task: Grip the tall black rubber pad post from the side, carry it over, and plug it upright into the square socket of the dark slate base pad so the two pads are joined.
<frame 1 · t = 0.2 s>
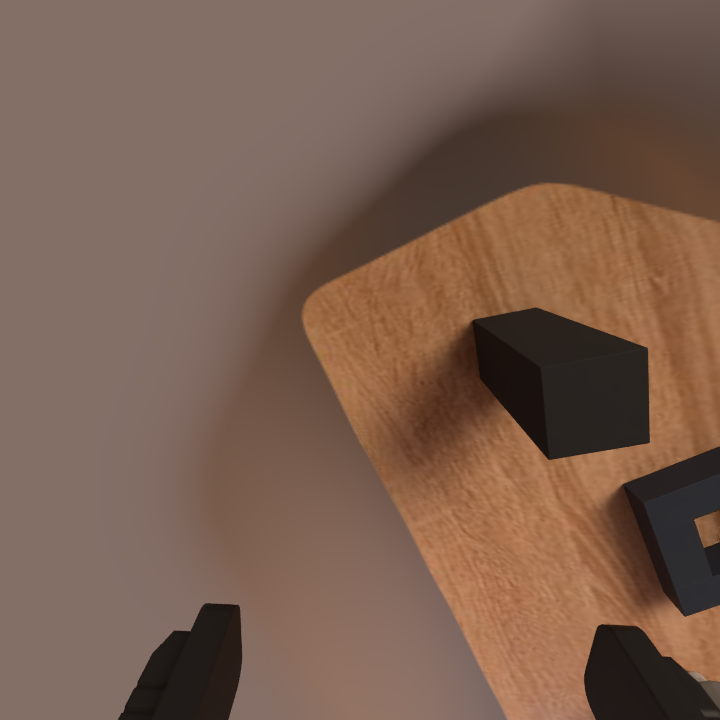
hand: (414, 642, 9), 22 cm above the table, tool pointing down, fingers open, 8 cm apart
pad post: (507, 344, 30), on the table
light bulb: (681, 670, 38), on the table
base pad: (715, 513, 33), on the table
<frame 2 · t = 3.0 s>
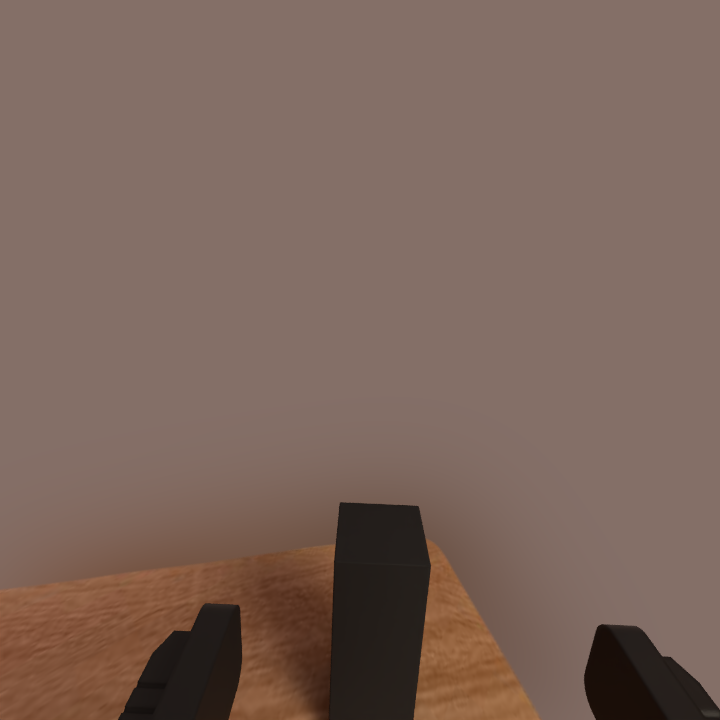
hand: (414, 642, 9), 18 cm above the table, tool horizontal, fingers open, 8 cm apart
pad post: (369, 695, 25), on the table
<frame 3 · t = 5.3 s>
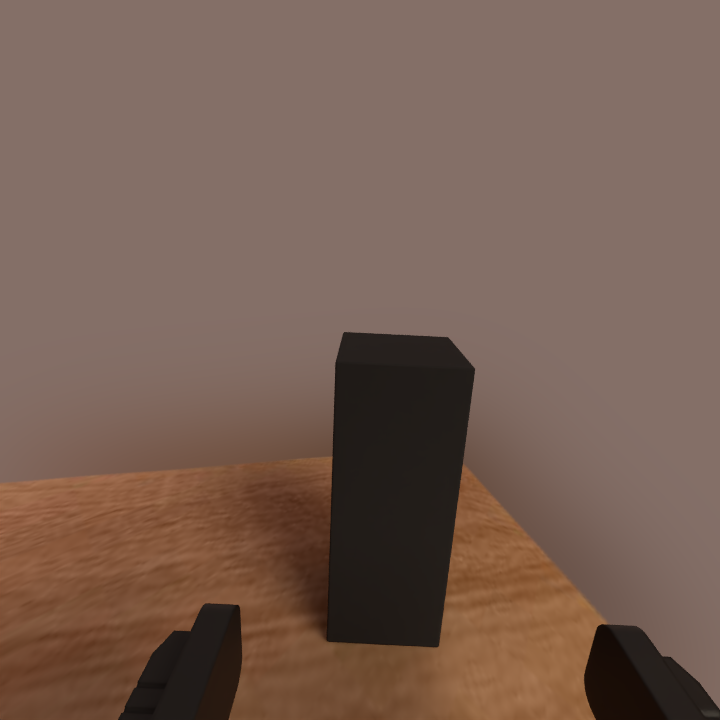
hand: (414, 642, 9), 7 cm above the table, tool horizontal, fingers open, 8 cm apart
pad post: (380, 598, 19), on the table
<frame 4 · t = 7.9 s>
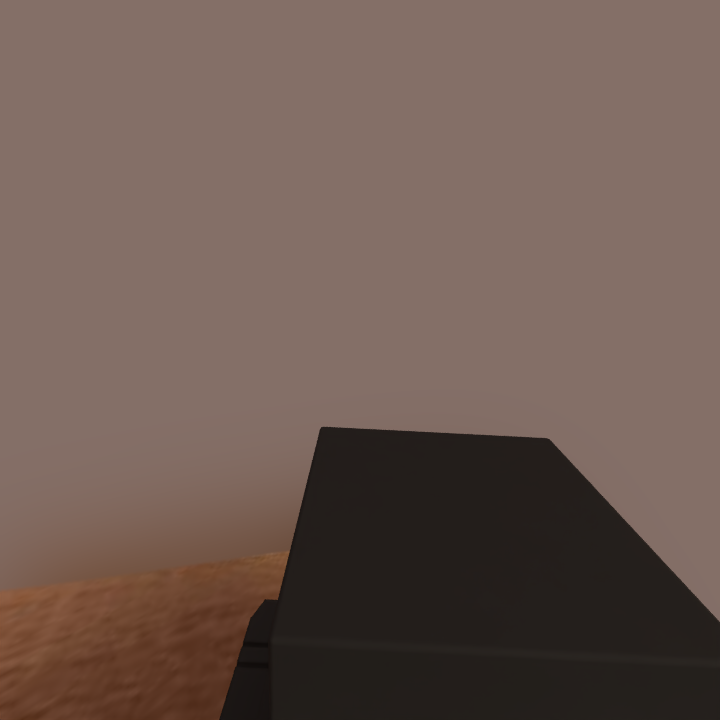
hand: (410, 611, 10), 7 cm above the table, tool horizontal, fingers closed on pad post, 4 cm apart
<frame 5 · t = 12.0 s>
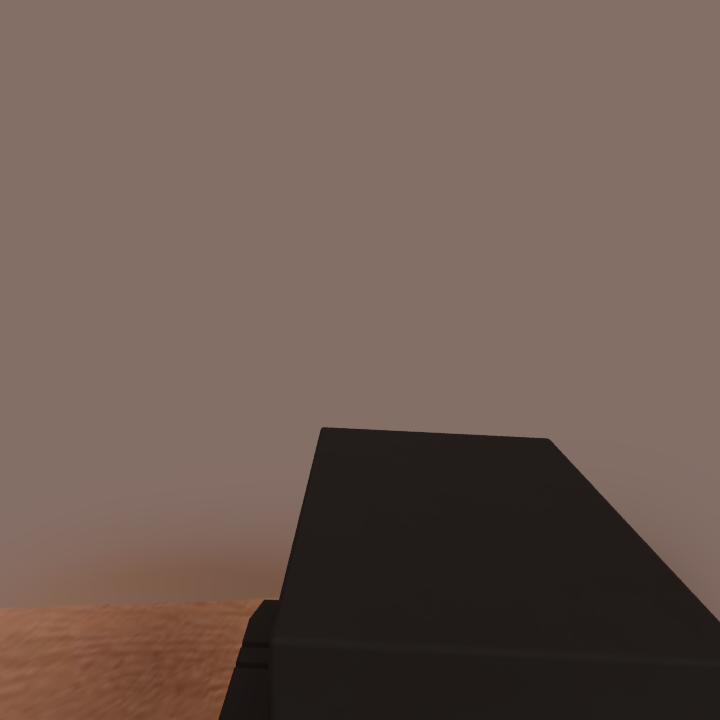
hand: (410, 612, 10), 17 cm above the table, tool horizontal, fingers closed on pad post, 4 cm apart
when the fingers open (7 cm above the table, at t = 16.2 s): pad post stays where it is, resting in base pad.
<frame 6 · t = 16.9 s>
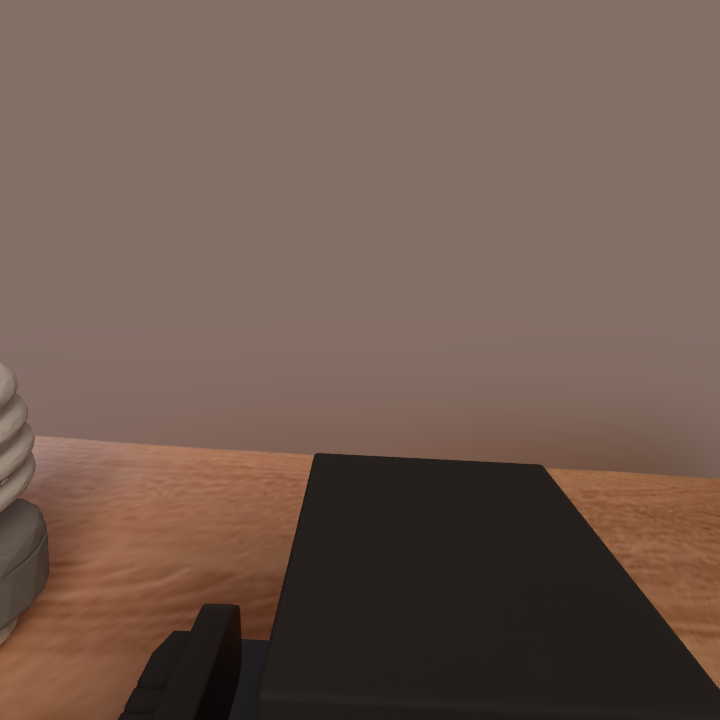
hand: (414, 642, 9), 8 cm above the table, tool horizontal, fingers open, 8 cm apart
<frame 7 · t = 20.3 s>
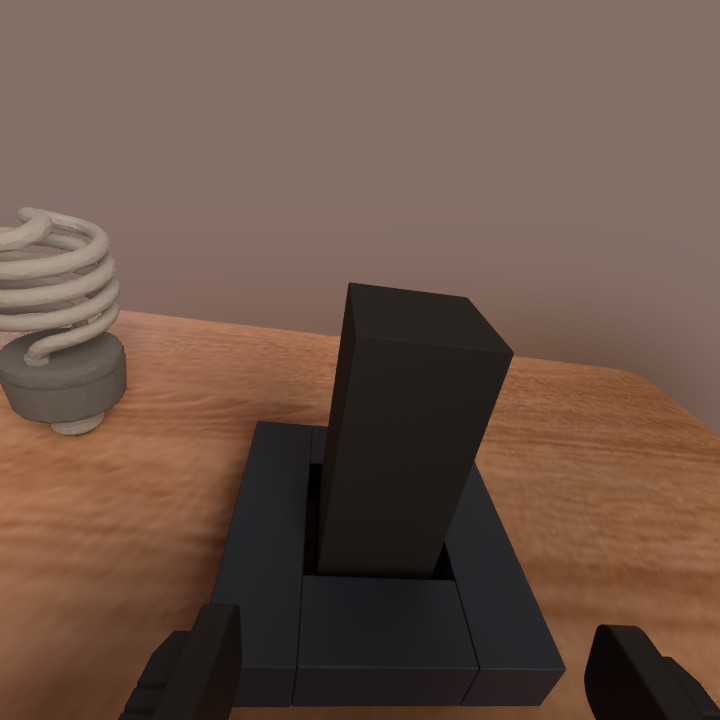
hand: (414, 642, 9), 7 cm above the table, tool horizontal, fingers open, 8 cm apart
pad post: (364, 552, 19), resting in base pad
light bulb: (81, 435, 23), on the table
base pad: (364, 551, 19), on the table
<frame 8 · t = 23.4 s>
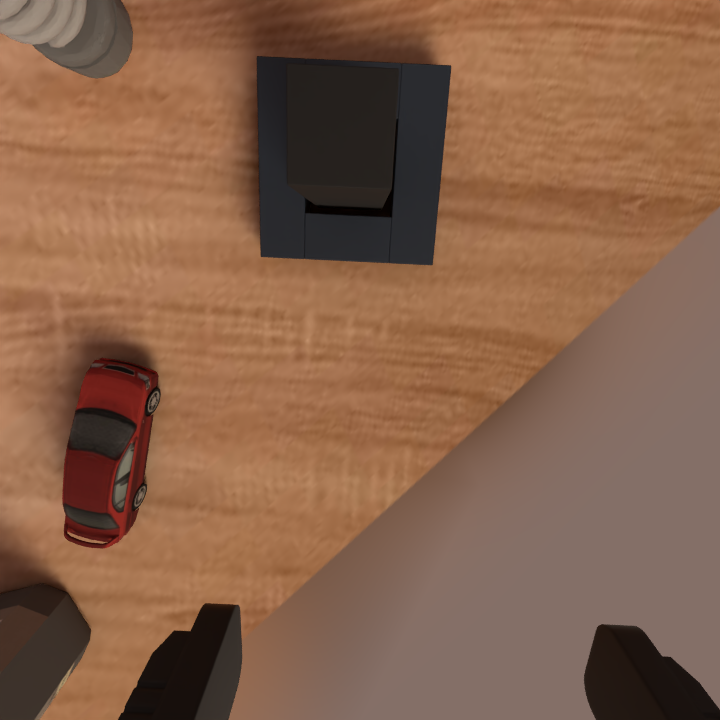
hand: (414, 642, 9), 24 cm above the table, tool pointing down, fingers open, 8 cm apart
liquor: (43, 619, 41), on the table
toy car: (127, 439, 35), on the table
pad post: (350, 174, 29), resting in base pad
light bulb: (118, 51, 27), on the table
base pad: (351, 173, 29), on the table
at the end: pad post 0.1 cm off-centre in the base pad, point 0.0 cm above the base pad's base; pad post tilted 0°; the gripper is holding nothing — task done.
